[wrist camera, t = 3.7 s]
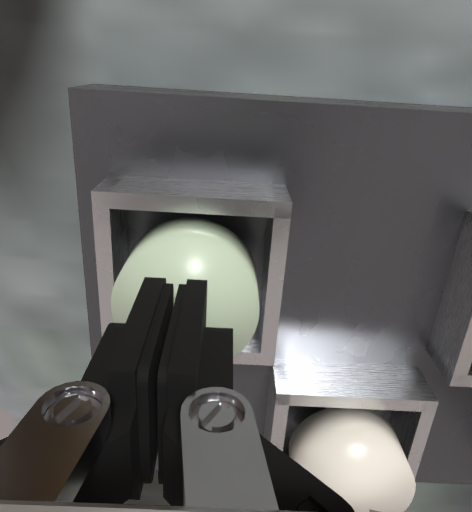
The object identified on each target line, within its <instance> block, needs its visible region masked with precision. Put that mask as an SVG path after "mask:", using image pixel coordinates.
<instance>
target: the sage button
mask: <svg viewBox="0 0 472 512" xmlns="http://www.w3.org/2000/svg"><path fill="white" fill-rule="evenodd" d="M145 277H155V278H166V283H170V284H173V286H174V302H175V298H176V294H177V290H178V286H179V284H186V283H187V279H195V280H207V311H206V327H215V328H233V357H235V356H236V355H237V354H239V353H240V352H241V351H242V350H243V349H244V348H245V347H246V346H247V344H248V343H249V341H250V340H251V338H252V337H253V335H254V333H255V331H256V328H257V324H258V320H259V309H260V306H259V295H258V284H257V274H256V267H255V263H254V260H253V258H252V255H251V253H250V251H249V250H248V248H247V246H246V245H245V244H244V243H243V241H242V240H241V239H240V238H239V237H238V236H237V235H236V234H235V233H233V232H232V231H230V230H229V229H228V228H226V227H224V226H222V225H220V224H218V223H215V222H213V221H210V220H206V219H201V218H178V219H173V220H169V221H166V222H163V223H161V224H159V225H157V226H155V227H153V228H152V229H150V230H149V231H148V232H147V233H145V234H144V235H143V236H142V237H141V238H140V239H139V241H138V242H137V243H136V245H135V246H134V248H133V250H132V252H131V254H130V255H129V257H128V259H127V261H126V263H125V264H124V266H123V268H122V270H121V272H120V273H119V275H118V277H117V279H116V281H115V284H114V287H113V290H112V295H111V312H112V317H113V320H114V323H126V321H127V318H128V316H129V314H130V311H131V309H132V306H133V304H134V302H135V299H136V297H137V294H138V292H139V290H140V287H141V285H142V282H143V280H144V278H145Z"/></svg>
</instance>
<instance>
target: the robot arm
mask: <svg viewBox="0 0 472 512" xmlns="http://www.w3.org/2000/svg"><path fill="white" fill-rule="evenodd" d="M206 311H207V280H195V279H187V283H186V284H179V286H178V290H177V294H176V298H175V302H174V286H173V284H170V283H166V278H155V277H145V278H144V280H143V282H142V285H141V287H140V290H139V292H138V294H137V297H136V299H135V302H134V304H133V306H132V309H131V311H130V314H129V316H128V318H127V321H126V323H109V324H108V326H107V328H106V330H105V332H104V334H103V336H102V338H101V340H100V342H99V344H98V346H97V348H96V351H95V353H94V355H93V357H92V359H91V361H90V363H89V365H88V367H87V369H86V371H85V373H84V375H83V378H82V380H81V381H75V382H69V383H65V384H62V385H59V386H56V387H54V388H52V389H51V390H49V391H47V392H46V393H45V394H44V395H42V396H41V397H40V398H39V399H38V400H37V402H36V403H35V404H34V405H33V407H32V408H31V409H30V410H29V411H28V413H27V414H26V415H25V416H24V418H23V419H22V420H21V421H20V423H19V424H18V425H17V426H16V428H15V429H14V430H13V431H12V433H11V434H10V435H9V436H8V437H6V438H4V439H2V440H0V512H355V511H354V509H353V508H352V506H351V505H350V504H349V503H348V502H347V501H346V500H344V499H343V498H342V497H341V496H340V495H339V494H337V493H336V492H335V491H333V490H332V489H331V488H330V487H328V486H327V485H326V484H324V483H323V482H322V481H320V480H319V479H318V478H317V477H315V476H314V475H313V474H311V473H310V472H309V471H307V470H306V469H305V468H303V467H302V466H301V465H300V464H298V463H297V462H296V461H294V460H293V459H292V458H290V457H289V456H288V455H287V454H285V453H284V452H283V451H281V450H280V449H279V448H277V447H276V446H275V445H273V444H272V443H271V442H270V441H268V440H267V439H266V438H264V437H263V436H262V435H260V434H259V432H258V428H257V424H256V420H255V416H254V413H253V409H252V407H251V405H250V403H249V401H248V400H247V399H246V398H245V397H244V396H243V395H242V394H240V393H238V392H236V391H235V390H233V328H215V327H206ZM157 455H158V480H159V484H163V497H164V498H165V500H166V501H167V502H168V503H169V504H170V505H171V506H161V505H134V504H123V503H124V502H125V501H127V500H128V499H135V500H140V496H141V492H142V487H143V483H152V480H153V475H154V470H155V465H156V460H157ZM369 512H379V511H375V510H371V509H369Z"/></svg>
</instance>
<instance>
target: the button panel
mask: <svg viewBox="0 0 472 512" xmlns="http://www.w3.org/2000/svg"><path fill="white" fill-rule="evenodd" d="M68 94H69V105H70V117H71V128H72V139H73V151H74V162H75V173H76V185H77V196H78V207H79V219H80V230H81V241H82V253H83V264H84V275H85V287H86V298H87V309H88V321H89V332H90V343H91V355H92V357H93V355H94V353H95V351H96V348H97V346H98V344H99V342H100V340H101V338H102V336H103V334H104V332H105V330H106V328H107V326H108V324H109V323H114V320H113V317H112V312H111V295H112V290H113V287H114V284H115V281H116V279H117V277H118V275H119V273H120V272H121V270H122V268H123V266H124V264H125V263H126V261H127V259H128V257H129V255H130V254H131V252H132V250H133V248H134V246H135V245H136V243H137V242H138V241H139V239H140V238H141V237H142V236H143V235H144V234H145V233H147V232H148V231H149V230H150V229H152V228H153V227H155V226H157V225H159V224H161V223H163V222H166V221H169V220H173V219H178V218H201V219H206V220H210V221H213V222H215V223H218V224H220V225H222V226H224V227H226V228H228V229H229V230H230V231H232V232H233V233H235V234H236V235H237V236H238V237H239V238H240V239H241V240H242V241H243V243H244V244H245V245H246V246H247V248H248V250H249V251H250V253H251V255H252V258H253V260H254V263H255V267H256V274H257V284H258V295H259V306H260V309H259V320H258V324H257V328H256V331H255V333H254V335H253V337H252V338H251V340H250V341H249V343H248V344H247V346H246V347H245V348H244V349H243V350H242V351H241V352H240V353H239V354H237V355H236V356H235V357H233V390H235V391H236V392H238V393H240V394H242V395H243V396H244V397H245V398H246V399H247V400H248V401H249V403H250V405H251V407H252V409H253V413H254V416H255V420H256V424H257V428H258V432H259V434H260V435H262V436H263V437H264V438H266V439H267V440H268V441H270V442H271V443H272V444H273V445H275V446H276V447H277V448H279V449H280V450H281V451H283V452H284V453H285V454H287V455H288V456H289V442H290V438H291V436H292V434H293V432H294V430H295V429H296V428H297V426H298V425H299V424H300V423H301V422H302V421H303V420H305V419H306V418H307V417H309V416H310V415H312V414H314V413H316V412H318V411H320V410H323V409H326V408H351V409H371V410H374V411H376V412H378V413H379V414H381V415H382V416H384V417H385V418H386V419H387V420H388V421H389V422H390V424H391V425H392V427H393V428H394V431H395V433H396V435H397V438H398V440H399V442H400V445H401V447H402V449H403V452H404V454H405V456H406V459H407V461H408V463H409V466H410V468H411V470H412V473H413V475H414V478H415V482H429V483H452V484H472V108H470V107H453V106H437V105H421V104H405V103H389V102H373V101H357V100H341V99H325V98H309V97H293V96H277V95H261V94H245V93H229V92H213V91H197V90H181V89H165V88H149V87H133V86H117V85H101V84H89V85H83V86H77V87H70V88H68ZM154 471H158V455H157V460H156V465H155V470H154ZM404 512H405V511H404Z"/></svg>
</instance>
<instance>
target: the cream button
mask: <svg viewBox="0 0 472 512" xmlns="http://www.w3.org/2000/svg"><path fill="white" fill-rule="evenodd" d="M289 457H290V458H292V459H293V460H294V461H296V462H297V463H298V464H300V465H301V466H302V467H303V468H305V469H306V470H307V471H309V472H310V473H311V474H313V475H314V476H315V477H317V478H318V479H319V480H320V481H322V482H323V483H324V484H326V485H327V486H328V487H330V488H331V489H332V490H333V491H335V492H336V493H337V494H339V495H340V496H341V497H342V498H343V499H344V500H346V501H347V502H348V503H349V504H350V505H351V506H352V508H353V509H354V511H355V512H369V509H371V510H375V511H379V512H404V511H405V510H406V509H407V508H408V506H409V505H410V503H411V502H412V499H413V497H414V494H415V488H416V484H415V478H414V475H413V473H412V470H411V468H410V466H409V463H408V461H407V459H406V456H405V454H404V452H403V449H402V447H401V445H400V442H399V440H398V438H397V435H396V433H395V431H394V428H393V427H392V425H391V424H390V422H389V421H388V420H387V419H386V418H385V417H384V416H382V415H381V414H379V413H378V412H376V411H374V410H371V409H351V408H326V409H323V410H320V411H318V412H316V413H314V414H312V415H310V416H309V417H307V418H306V419H305V420H303V421H302V422H301V423H300V424H299V425H298V426H297V428H296V429H295V430H294V432H293V434H292V436H291V438H290V442H289Z"/></svg>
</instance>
